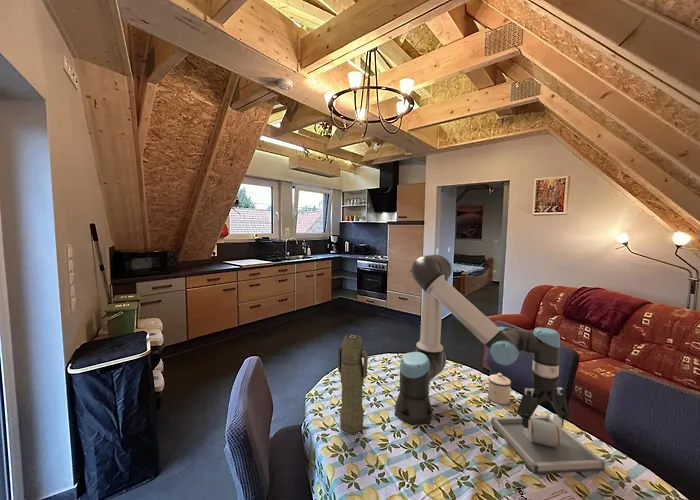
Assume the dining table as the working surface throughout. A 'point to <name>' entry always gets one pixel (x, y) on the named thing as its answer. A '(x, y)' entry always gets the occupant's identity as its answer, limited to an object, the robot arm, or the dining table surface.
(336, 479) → the dining table surface
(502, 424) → the drying tray
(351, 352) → the thermos
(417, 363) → the robot arm
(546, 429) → the ceramic mug
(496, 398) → the teacup with lid
